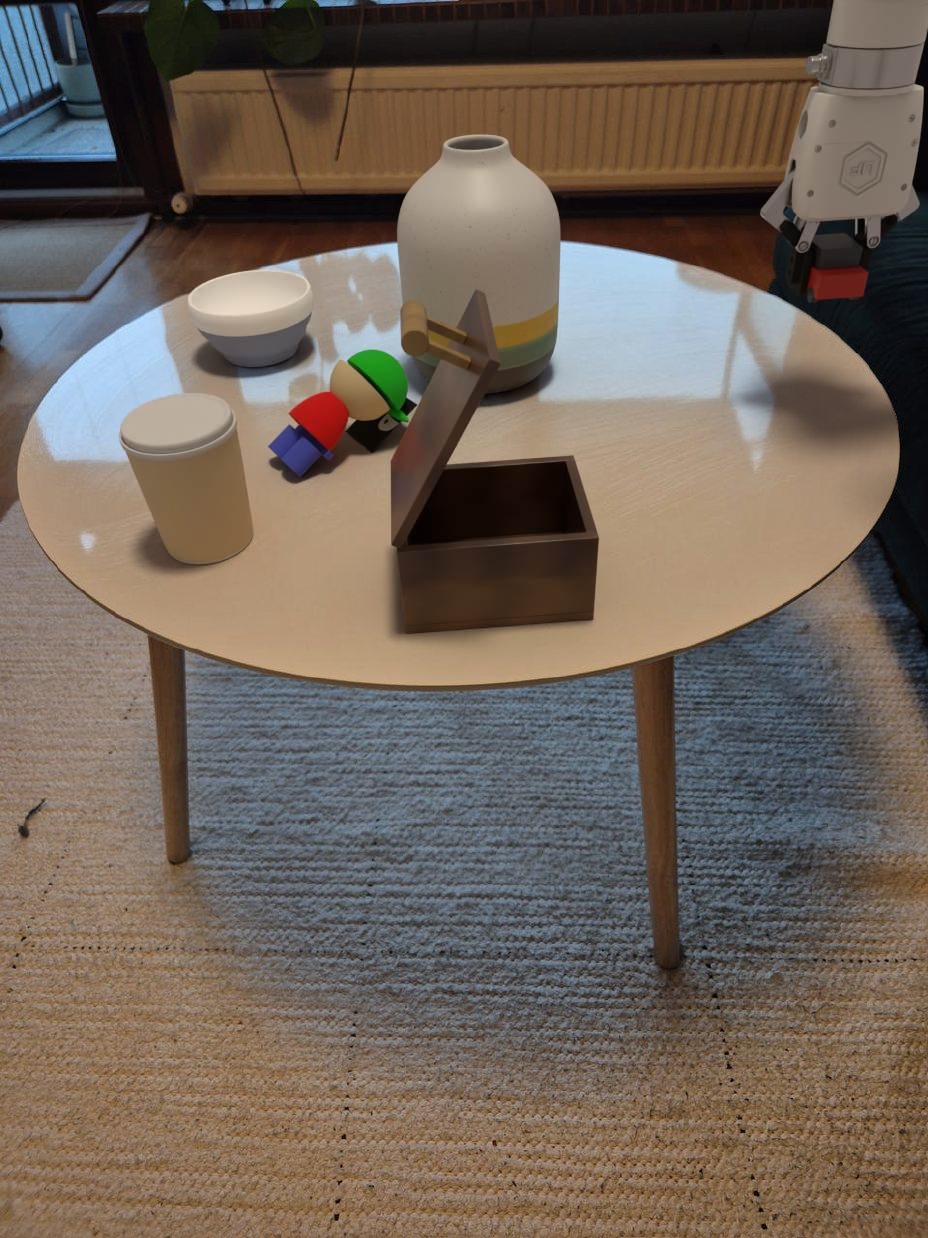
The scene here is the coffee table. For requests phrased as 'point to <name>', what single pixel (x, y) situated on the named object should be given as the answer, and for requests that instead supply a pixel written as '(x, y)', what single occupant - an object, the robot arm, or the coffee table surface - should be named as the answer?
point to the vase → (484, 253)
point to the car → (836, 268)
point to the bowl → (253, 315)
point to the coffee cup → (191, 474)
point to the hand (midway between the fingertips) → (822, 286)
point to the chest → (501, 548)
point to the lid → (439, 403)
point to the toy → (347, 410)
